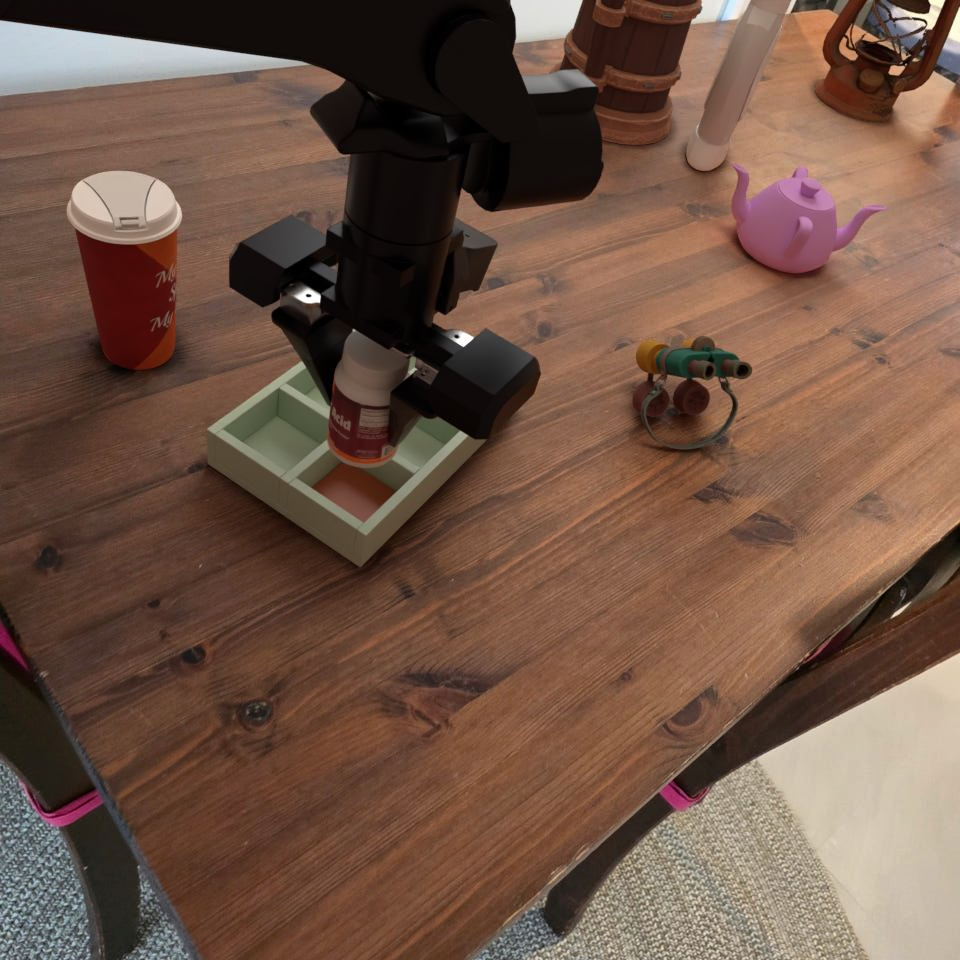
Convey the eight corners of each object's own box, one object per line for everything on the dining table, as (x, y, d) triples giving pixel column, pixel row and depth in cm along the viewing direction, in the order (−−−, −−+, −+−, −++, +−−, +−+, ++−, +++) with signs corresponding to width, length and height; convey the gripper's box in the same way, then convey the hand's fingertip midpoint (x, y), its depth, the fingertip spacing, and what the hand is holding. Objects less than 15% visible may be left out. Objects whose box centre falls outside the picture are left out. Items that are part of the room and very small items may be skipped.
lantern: (799, 97, 137) (907, -126, 115) (806, 69, 146) (908, -144, 124) (904, 136, 136) (1034, -82, 114) (905, 105, 144) (1026, -103, 122)
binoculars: (705, 434, 83) (717, 327, 80) (765, 460, 75) (780, 342, 72) (616, 439, 80) (625, 328, 78) (668, 466, 72) (680, 343, 69)
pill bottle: (318, 422, 59) (328, 324, 53) (386, 415, 61) (404, 319, 55) (336, 475, 57) (349, 379, 50) (406, 466, 58) (427, 371, 52)
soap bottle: (731, 190, 112) (825, -13, 94) (674, 167, 113) (757, -39, 95) (749, 150, 121) (838, -43, 103) (696, 129, 122) (776, -66, 104)
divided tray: (207, 463, 66) (206, 428, 63) (377, 335, 80) (383, 301, 77) (360, 568, 63) (366, 535, 60) (511, 415, 76) (521, 383, 74)
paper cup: (196, 373, 72) (190, 225, 62) (94, 384, 69) (69, 230, 59) (179, 312, 76) (171, 164, 66) (82, 319, 73) (58, 165, 63)
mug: (501, 113, 113) (541, -58, 98) (573, 63, 128) (617, -93, 113) (630, 173, 110) (691, 5, 95) (688, 114, 125) (749, -39, 110)
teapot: (848, 271, 105) (889, 206, 98) (765, 288, 99) (803, 220, 92) (783, 214, 111) (818, 149, 104) (701, 227, 105) (732, 158, 98)
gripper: (620, 237, 49) (546, 432, 60) (354, 95, 53) (332, 302, 65) (519, 326, 42) (457, 528, 53) (221, 153, 46) (222, 374, 58)
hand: (365, 423), depth 57 cm, fingers closed on pill bottle, 5 cm apart
